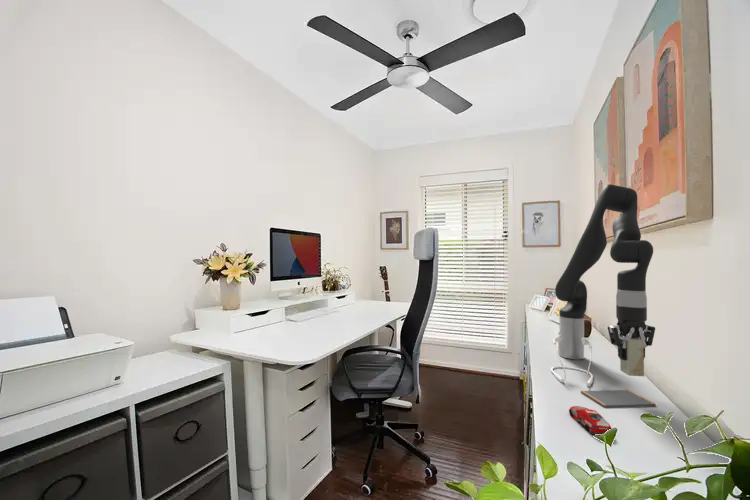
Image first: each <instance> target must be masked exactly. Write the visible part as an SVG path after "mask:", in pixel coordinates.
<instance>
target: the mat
mask: <svg viewBox="0 0 750 500" xmlns="http://www.w3.org/2000/svg"><path fill="white" fill-rule="evenodd" d="M580 393H581V394H582V395H583V396H585V397H586V398H588V399H589V400H592V401H593V402H594V403H596V404H598V405H599V406H601V407H603V408H629V407H631V408H632V407H633V408H635V407H638V408H639V407H656V403H655V402H653V401H651V400H649V399H647V398H645V397H644V396H642V395H640V394H638V393H636V392H634V391H632V390H630V389H615V390H612V389H611V390H606V389H605V390H580Z"/></svg>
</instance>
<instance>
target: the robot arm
mask: <svg viewBox="0 0 750 500" xmlns="http://www.w3.org/2000/svg"><path fill="white" fill-rule="evenodd" d="M606 210H608V211H613V212H617V213H621V214H619V216H617V217H616V218H615V219H614V221H613V223H612V226H611V227H612V233H613V241H612V244H611V246H610V250H609V254H610V255H609V256H610V258H611V259H612V261H613V262H616V263H619V264H620V263H621V264H622V263H623V264H625V263H626V264H636V266H635V267H634V268H631V269H625V270H621V271H619V272H618V273H617V275H616V277H617V278H616V281H617V282H616V287H617V289H616V295H615V297H616V298H615V299H616V300H615V301H616V302H615V304H616V305H615V306H616V308H615V309H616V310H615V311H616V313H615V314H616V315H615V317H616V319H617V323H616V325H608V326H607V331H608V336H609V340H610V344H611V345H614V346H617V347H616V348H617V356H618V358H619V360H620V359H621V360H627V349H626V346H627V341H628V340H629V339H631V338H633V337H635V338H639V339H642V340H643V350H644V359H645V357H646V348H647V347H652V345H653V342H654V336H655V331H656V327H655V326H651V325H648V324H646V321H647V320H648V302H647V301H648V298H647V292H646V291H647V289H646V285H647V283H646V281H647V280H646V279H647V272H648V268H649V266H650V263H651V260H652V258H653V254H654V247H653V245H652V243H651V242H650V241H648V240H646V239H645V240H643V239H642V234H641V230H640V227H639V223H638V193H637V191H636V190H635V189H633V188H630V187H626V186H625V187H624V186H620V185H616V184H612V183H609V184H606V185H604V187H603V188H602V189H601V190H600V193H599V196H598V198H597V200H596V202H595V205H594V208H593V211H592V214H591V215H590V217H589V220H588V223H587V225H586V227H585V229H584V231H583V233H582V235H581V237H580V239H579V240H578V243H577V245H576V248H575V250H574V252H573V254H572V256H571V258H570V261H569V262H568V264H567V266H566V268H565V270H564V271H563V273H562V275H561V276H560V278H559V279H558V281H557V283H556V285H555V289H554V294H555V296H556V298H557V299H558V300H559V301H561V302H566V304H565V305H564V306H563V307H561V308H560V309H559V314H558V315H559V331H558V336H559V335H561V336H562V338H563V339H562V340H561V342H557V343H558V349H557V352H558V355H559V357H562V358H565V359H570V360H584V359H585V345H583V344H582V341H581V339H582V338H585V313H586V312H587V306H588V305H587V303H588V288H587V286H586V284H585V282H584V281H583V280H581V278H582V277H583V275H584V274H585V273H587V271H588V270H590V269H591V268H592V267H593V266H594V265H595V264H596V263H597V262H598V261H599V260H600V259H601V257H602V255H603V253H604V251H605V250H606V247H607V244H608V239H607V234H606V231H605V227H604V216H605V212H606ZM623 336H624V337H625V338H624V337H623ZM622 341H623V343H622Z"/></svg>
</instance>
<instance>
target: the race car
mask: <svg viewBox="0 0 750 500" xmlns="http://www.w3.org/2000/svg"><path fill="white" fill-rule="evenodd" d="M568 413H569V416H570V417H571V418H573V419H574V420H575V421H576V422H577V423H578V424H579V425H581V426H582V427H583V428H584V429H585V431H587V432H588V433H589V432H590V433H589V434H591V433H592V435H594V434H604V433H605V432H606V431H607V430H609V429H612V427H611V425H610V423H609V422H608V421H607V420H606V419H605V418H604V417H603V415H601V413H599V412H598V411H596V410H595V409H591V408H587V407H584V406H579V405H573V406H570V407H569V408H568Z"/></svg>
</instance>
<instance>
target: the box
mask: <svg viewBox="0 0 750 500" xmlns="http://www.w3.org/2000/svg"><path fill="white" fill-rule="evenodd" d="M623 337H624V336H623ZM624 338H625V337H624ZM622 343H623V341H622ZM626 349H627V360H621V359H620V358H619V361H620V364H619V365H620V366H619V367H620V368H619V369H620V371H621V372H622V373H624V374H625V375H627V376H630V377H645V361H644V360H645V358H644V350H643V340H642V339H639V338H635V337H633V338H631V339H629V340H628V341H627V346H626Z"/></svg>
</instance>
